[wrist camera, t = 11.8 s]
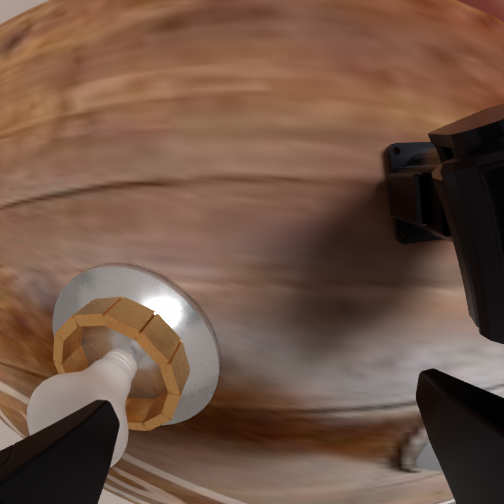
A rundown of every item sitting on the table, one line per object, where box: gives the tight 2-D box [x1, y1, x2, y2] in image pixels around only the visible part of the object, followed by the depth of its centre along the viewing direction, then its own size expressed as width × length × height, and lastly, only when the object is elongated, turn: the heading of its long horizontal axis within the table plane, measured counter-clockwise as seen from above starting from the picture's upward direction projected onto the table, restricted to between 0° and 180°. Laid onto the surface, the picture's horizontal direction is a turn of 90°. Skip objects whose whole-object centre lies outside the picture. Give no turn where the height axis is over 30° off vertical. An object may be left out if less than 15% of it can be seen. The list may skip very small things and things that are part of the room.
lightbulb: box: [27, 348, 137, 468], centre depth 16 cm, size 6×6×11 cm
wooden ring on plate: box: [53, 263, 221, 431], centre depth 20 cm, size 14×14×4 cm
